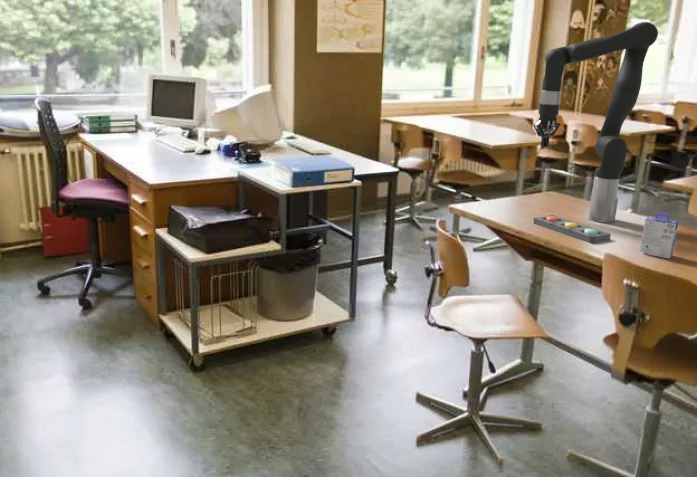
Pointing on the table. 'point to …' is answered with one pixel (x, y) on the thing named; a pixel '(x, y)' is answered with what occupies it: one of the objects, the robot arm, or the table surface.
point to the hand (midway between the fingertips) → (544, 147)
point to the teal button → (591, 231)
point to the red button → (552, 218)
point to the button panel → (572, 230)
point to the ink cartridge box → (659, 236)
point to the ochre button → (571, 225)
